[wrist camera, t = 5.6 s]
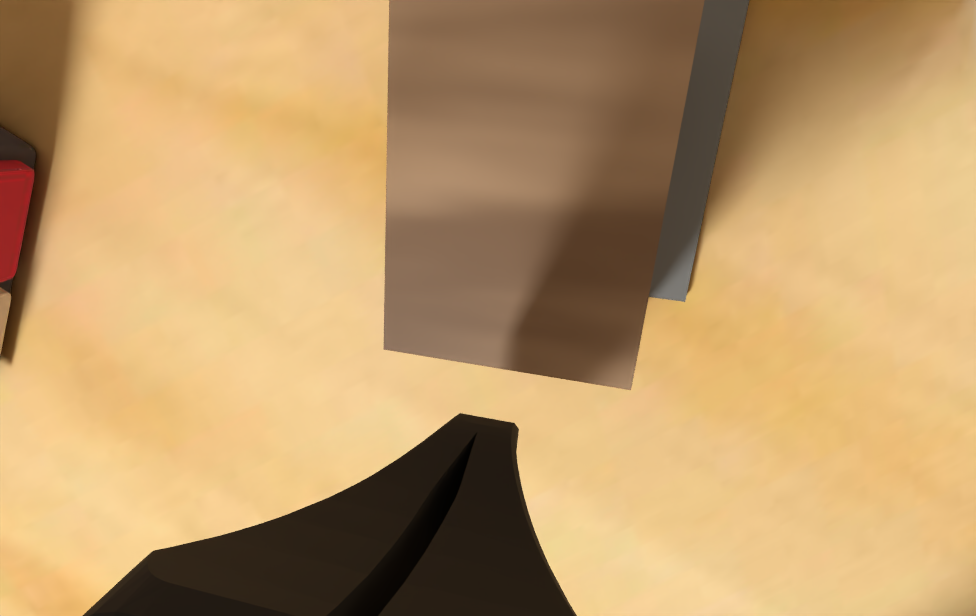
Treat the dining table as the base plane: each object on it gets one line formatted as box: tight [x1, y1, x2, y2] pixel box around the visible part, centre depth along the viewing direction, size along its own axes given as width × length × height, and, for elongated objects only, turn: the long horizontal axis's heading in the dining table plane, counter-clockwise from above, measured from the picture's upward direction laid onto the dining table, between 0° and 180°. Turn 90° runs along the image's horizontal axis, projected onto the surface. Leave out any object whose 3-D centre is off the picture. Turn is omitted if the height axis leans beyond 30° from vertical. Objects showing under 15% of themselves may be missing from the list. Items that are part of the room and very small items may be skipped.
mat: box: [649, 0, 749, 302], centre depth 14 cm, size 11×9×1 cm
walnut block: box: [384, 0, 705, 390], centre depth 13 cm, size 4×6×8 cm
